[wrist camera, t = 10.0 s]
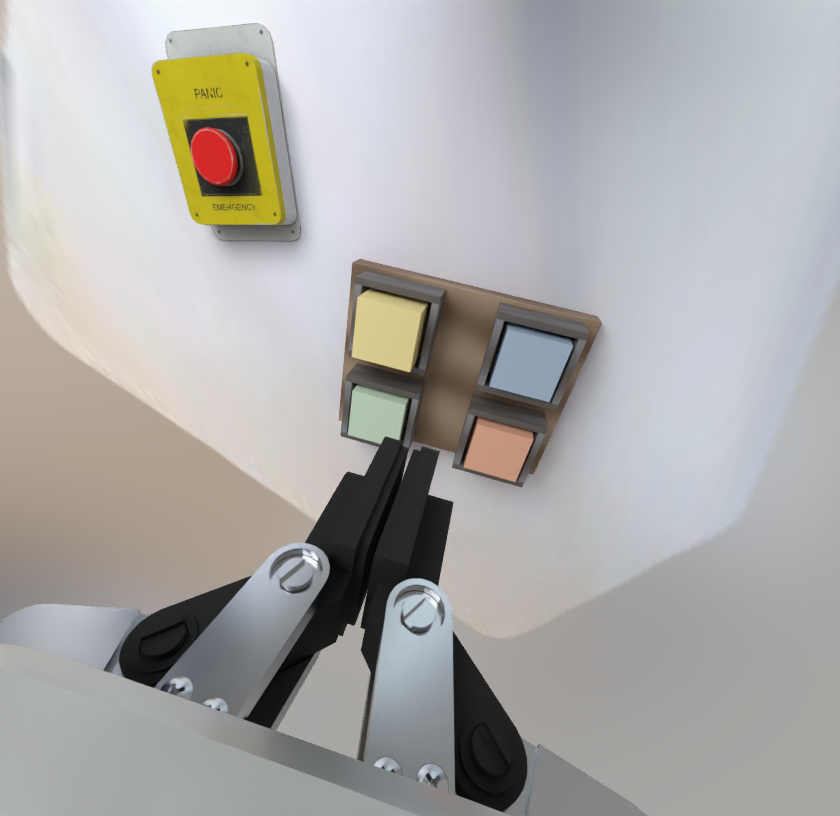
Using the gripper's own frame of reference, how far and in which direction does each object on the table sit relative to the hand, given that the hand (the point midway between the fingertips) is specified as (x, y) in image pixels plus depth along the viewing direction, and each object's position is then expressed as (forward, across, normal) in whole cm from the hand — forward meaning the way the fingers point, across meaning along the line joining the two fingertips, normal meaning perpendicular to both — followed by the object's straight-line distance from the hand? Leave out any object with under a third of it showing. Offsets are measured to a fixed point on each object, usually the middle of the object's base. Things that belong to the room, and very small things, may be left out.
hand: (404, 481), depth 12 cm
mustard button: (+24, +6, +4) cm, 25 cm away
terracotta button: (+25, -6, +13) cm, 29 cm away
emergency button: (+28, +23, -7) cm, 37 cm away
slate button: (+25, -6, +4) cm, 26 cm away
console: (+27, 0, +8) cm, 28 cm away
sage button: (+25, +6, +13) cm, 29 cm away
